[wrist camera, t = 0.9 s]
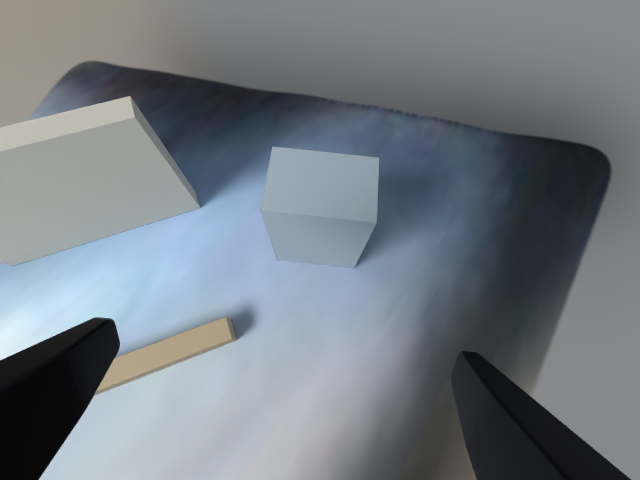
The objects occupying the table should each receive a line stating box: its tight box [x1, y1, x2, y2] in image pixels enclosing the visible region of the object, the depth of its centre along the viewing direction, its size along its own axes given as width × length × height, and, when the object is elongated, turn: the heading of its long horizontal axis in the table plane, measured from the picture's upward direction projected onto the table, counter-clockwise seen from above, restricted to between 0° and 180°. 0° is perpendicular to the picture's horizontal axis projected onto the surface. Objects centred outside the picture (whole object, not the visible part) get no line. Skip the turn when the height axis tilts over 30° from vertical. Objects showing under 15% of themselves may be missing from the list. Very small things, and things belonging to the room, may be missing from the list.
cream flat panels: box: [0, 96, 237, 395], centre depth 17 cm, size 12×14×10 cm
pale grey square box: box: [260, 147, 379, 268], centre depth 20 cm, size 5×6×8 cm
